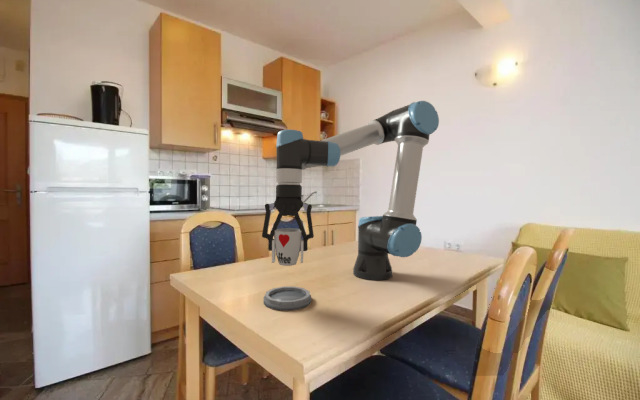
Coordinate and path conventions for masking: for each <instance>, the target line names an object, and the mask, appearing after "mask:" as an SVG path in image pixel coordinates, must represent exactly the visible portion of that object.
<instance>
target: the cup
mask: <svg viewBox="0 0 640 400" xmlns="http://www.w3.org/2000/svg"><path fill="white" fill-rule="evenodd" d="M302 238H303V236H302V234H301V231H300V229H299V228H291V227H289V228H287V227H285V228H284V227H283V228H277V230H275V234H274V239H275V256H276V258H277V262H278V265H280V266H283V267H284V266H286V267H290V266H291V267H292V266H296V265H297V262H298V259H299V256H300V253H301V239H302Z"/></svg>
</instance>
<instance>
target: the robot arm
mask: <svg viewBox="0 0 640 400" xmlns="http://www.w3.org/2000/svg"><path fill="white" fill-rule="evenodd" d="M439 124H440V119H439V115H438V112H437V109H436V108H435V106H433V104H432V103H431V102H429V101H426V100H419V101H413V102H411V103H410V104H407V105H404V106H402V107H399V108H397V109H394V110H392V111H390V112H387V113H386V114H383V115H382V116H380V117H378V118H375V119H373V120H370V121H369V122H368V124H367V125H363V126H360V127H356V128H354V129H351V130H348V131H345V132H342V133H339V134H337V135H333V136H330V137H327V138H324V139H322V140H316V139H315V140H313V139H306V138H304V135H303V132H302V131H301V130H298V129H283V130H280V131H278V132H277V136H276V145H275V148H276V151H275V152H276V167H275V168H276V169H275V170H276V171H275V182H276V185H275V201H273V202H272V203H271V202H270V203H265V205H264V209H265V215H264V221H263V227H262V233H261V237H262V238H263V239H267V242H268V244H267V245H268V248H267V249H268V251H269V252H271V264H275V262H276V248H275V230H277V229H278V227H279V225H280V223H281V220H282V218H283V217H287V216H289V217H294V219H295V221H296V223H297V226H298V229H300V231H301V234H302V238H303V239H302V238H301V247H300V264H303V263H304V252H307V251H308V240H310V239H313V238H314V237H315V236H314V228H313V221H312V213H311V212H312V208H313V207H312V204H309V203H304V202H303V200H302V199H303V198H302V193H303V192H302V191H303V190H302V189H303V186H302V185H301V184H302V183H303V170H306V169H310V168H317V167H335V166H337V165H338V164H339V162H340V159H341V156H344V155H347V154H349V153H353V152H355V151H358V150H361V149H363V148H366V147H369V146H371V145H376V146H379V145H382V144H385V143H386V144H387V143H391V142H395V143H396V144H397V151H396V157H395V163H394V170H393V176H392V184H391V190H390V197H389V203H388V209H387V211H386V212H384V213H383V214H382V215H380V216H378V215H376V216H362V217H360V218H359V220H358V225H357V228H358V229H357V231H358V232H357V233H358V234H357V237H358V238H357V239H358V240H357V242H358V245H357V256H356V260H355V263H354V265H353V268H352V270H353V273H352V274H353V275H354V276H355V277H357V278H360V279H364V280H372V281H383V280H388V279H391V278H392V277H393V267H392V265H391V262H390V258H389V255H392V256H393V257H399V258H408V257H410V256H412V255H413V254H414V253H416V252H417V251H418V250H419V248H420V246H421V244H422V239H423V236H422V232H421V229H420V228H419V226H417V221H418V220H417V218H416V216H415V215H414V210H415V204H416V197H417V192H418V191H417V190H418V183H419V176H420V171H421V163H422V158H423V151H424V147H425V146H426V145H429V141H430V135H432V134H433V133H434V132H435V131H437V129H438V128H439ZM274 207H275V209H276V210H277V212H278V214H277V216H276V218H275V221H274V223H273V226H272V228H271V230H270V233H268V231H269V226H270V221H271V215H272V212H271V211H273V209H274ZM302 208H303V209H304V211H305V212H306V219H307V227H308V233H307V232H306V230H305V227H304V225H303V222H302V219H301V217H300V213H299V212H300V211H301V209H302Z"/></svg>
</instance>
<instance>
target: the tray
mask: <svg viewBox="0 0 640 400" xmlns="http://www.w3.org/2000/svg"><path fill="white" fill-rule="evenodd" d="M310 293H311V292H310V291H309V290H308V289H306V288H305V287H304V288H303V287H299V286H290V285H289V286H288V285H287V286H285V285H283V286H279V287H273V288H271V289H269V290H267V291H266V292H265V294H264V296H263V305H264V306H265V307H266V308H268V309H272V310H276V311H282V312H283V311H287V312H288V311H297V310H301V309H303V308H306V307H309V306H310V305H311V303H312V295H311V294H310Z"/></svg>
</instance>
